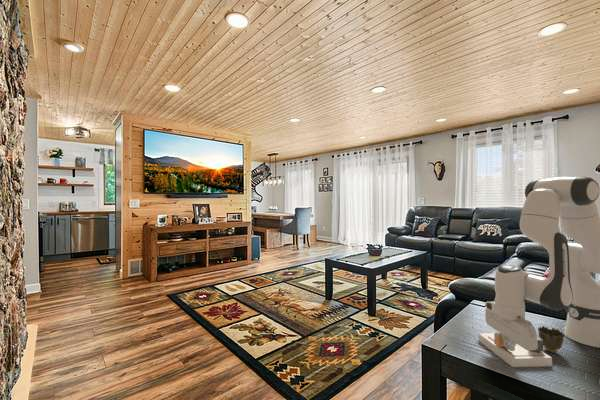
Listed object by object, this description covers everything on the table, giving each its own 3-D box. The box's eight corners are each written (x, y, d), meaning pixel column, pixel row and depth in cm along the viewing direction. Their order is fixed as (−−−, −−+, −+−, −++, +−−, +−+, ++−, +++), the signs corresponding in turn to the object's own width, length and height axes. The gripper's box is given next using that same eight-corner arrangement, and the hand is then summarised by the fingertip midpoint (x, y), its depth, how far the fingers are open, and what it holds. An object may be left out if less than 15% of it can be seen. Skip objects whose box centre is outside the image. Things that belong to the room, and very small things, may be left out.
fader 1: (503, 343, 107) (503, 332, 107) (508, 346, 105) (508, 335, 105) (494, 343, 107) (494, 332, 107) (498, 347, 105) (499, 336, 105)
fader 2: (537, 347, 104) (537, 336, 104) (543, 351, 102) (543, 340, 101) (527, 348, 104) (527, 336, 104) (533, 351, 101) (533, 340, 101)
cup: (563, 350, 108) (563, 330, 108) (564, 359, 102) (564, 337, 102) (538, 344, 113) (538, 324, 113) (537, 351, 107) (537, 331, 107)
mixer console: (511, 339, 116) (511, 332, 116) (552, 366, 98) (552, 357, 98) (478, 340, 116) (478, 333, 116) (512, 367, 98) (512, 358, 98)
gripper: (543, 323, 92) (543, 365, 92) (497, 300, 112) (497, 334, 112) (524, 324, 91) (524, 366, 92) (481, 300, 112) (482, 335, 112)
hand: (509, 348), depth 102 cm, fingers closed
